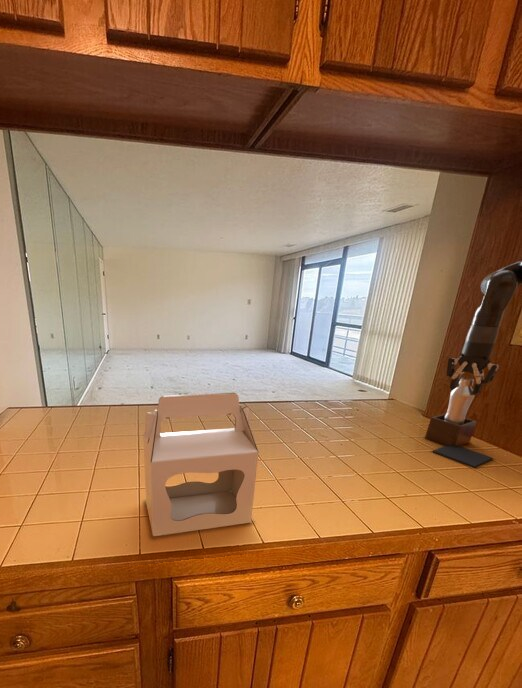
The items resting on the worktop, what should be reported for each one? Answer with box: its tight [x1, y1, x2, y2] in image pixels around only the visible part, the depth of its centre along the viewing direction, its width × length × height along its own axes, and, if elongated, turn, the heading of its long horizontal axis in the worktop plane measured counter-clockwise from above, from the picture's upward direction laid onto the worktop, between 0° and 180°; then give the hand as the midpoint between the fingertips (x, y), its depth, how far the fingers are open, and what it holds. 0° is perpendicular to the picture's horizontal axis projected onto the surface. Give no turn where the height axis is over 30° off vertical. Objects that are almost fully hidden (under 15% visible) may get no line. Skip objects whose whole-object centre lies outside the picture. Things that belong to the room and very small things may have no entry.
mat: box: [432, 445, 494, 469], centre depth 111 cm, size 12×12×1 cm
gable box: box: [142, 392, 259, 537], centre depth 74 cm, size 22×13×28 cm, turn 104°
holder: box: [424, 412, 478, 447], centre depth 121 cm, size 11×10×8 cm
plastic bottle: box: [444, 377, 476, 425], centre depth 117 cm, size 6×7×20 cm
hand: (463, 392), depth 115 cm, fingers closed on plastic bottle, 5 cm apart
